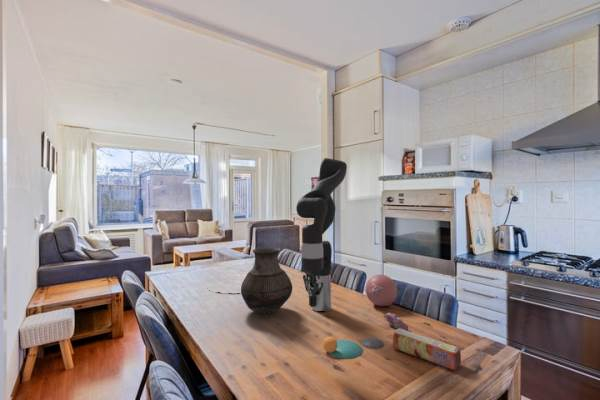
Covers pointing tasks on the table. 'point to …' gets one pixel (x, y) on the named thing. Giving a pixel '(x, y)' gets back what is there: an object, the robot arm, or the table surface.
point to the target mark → (347, 349)
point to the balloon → (381, 290)
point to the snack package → (427, 349)
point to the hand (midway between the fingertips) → (312, 305)
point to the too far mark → (372, 343)
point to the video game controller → (395, 321)
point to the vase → (266, 283)
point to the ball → (330, 344)
